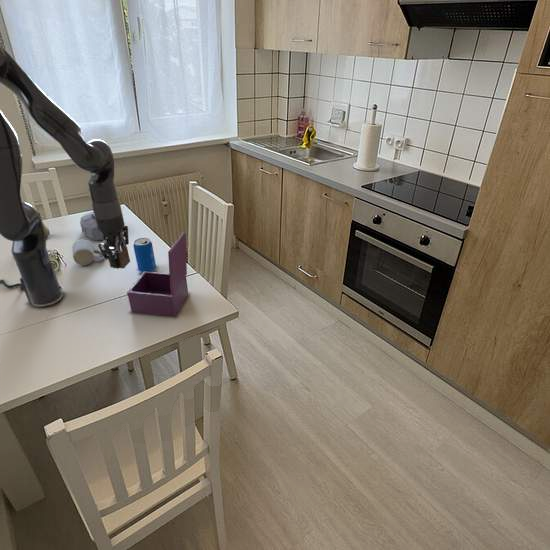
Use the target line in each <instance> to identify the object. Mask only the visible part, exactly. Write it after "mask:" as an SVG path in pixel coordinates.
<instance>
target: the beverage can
mask: <svg viewBox="0 0 550 550" xmlns="http://www.w3.org/2000/svg"><path fill="white" fill-rule="evenodd" d="M132 247H133V252H134V255H135V260H136V261H135V262H136V265H137V270H138V271H139V272H140V273H141V274H142V273H143V272H144V271H147V272H155V270H156V269H157V265H156V257H155V253H154V247H153V242H152V241H151V239H150V238H148V237H139V238H136V239H134V241H133V246H132Z"/></svg>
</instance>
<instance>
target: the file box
mask: <svg viewBox="0 0 550 550" xmlns="http://www.w3.org/2000/svg"><path fill="white" fill-rule="evenodd" d="M126 295H127V299H128V303H129V307H130V311H131V313H133V314H134V313H136V314H144V315H155V316H164V317H173V318H174V317H175V318H176V316H177V315H178V313H179V311H180V310H181V308H182V306H183V304H184V303H185V301H186V299H187V297H188V296H189V287H188V281H187V275H186V276H185V278H184V279H183V281H182V282H181V284H180V286H179V287H178V289H177V290H176V292H175V294H174V295H173V296H172V295H171V291H170V274H169V272H157V271H152V272H147V271H144V272H143V273H142V272H141V274H140V276H139V277H138V278H137V280H136V281H135V282H134V283H133V284H132V286H130V288H129V289H128V290H127V292H126Z"/></svg>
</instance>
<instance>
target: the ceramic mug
mask: <svg viewBox="0 0 550 550" xmlns="http://www.w3.org/2000/svg"><path fill="white" fill-rule="evenodd" d="M71 249H72V259H73V261H74V262H75V263H76V264H78V265H79V266H87V265H88V266H89V265H90V264H91V263H92V262H93V261H95V262H100V261H103V260H105V258H104V256H103V255H102V253H101V251H100V250H98V249H96V248H95V245H94V244H93V242H92V241H90V240H88V239H78V240H76V241H75V242H74V243H73V244H72V248H71ZM95 254H96V255H99V256H101V257H98V256H95Z"/></svg>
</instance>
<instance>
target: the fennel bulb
mask: <svg viewBox="0 0 550 550" xmlns="http://www.w3.org/2000/svg"><path fill="white" fill-rule="evenodd" d="M35 210H36V211H37V213H38V215H39V217H40V220H41V223H42V226H43V230H44V233H45V237H46V238H47V237H49V235H50V229H49V228H48V227H47V225H45V223H44V222H43V219H42V217H41V213H40V211H38V210H37V209H35Z"/></svg>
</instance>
